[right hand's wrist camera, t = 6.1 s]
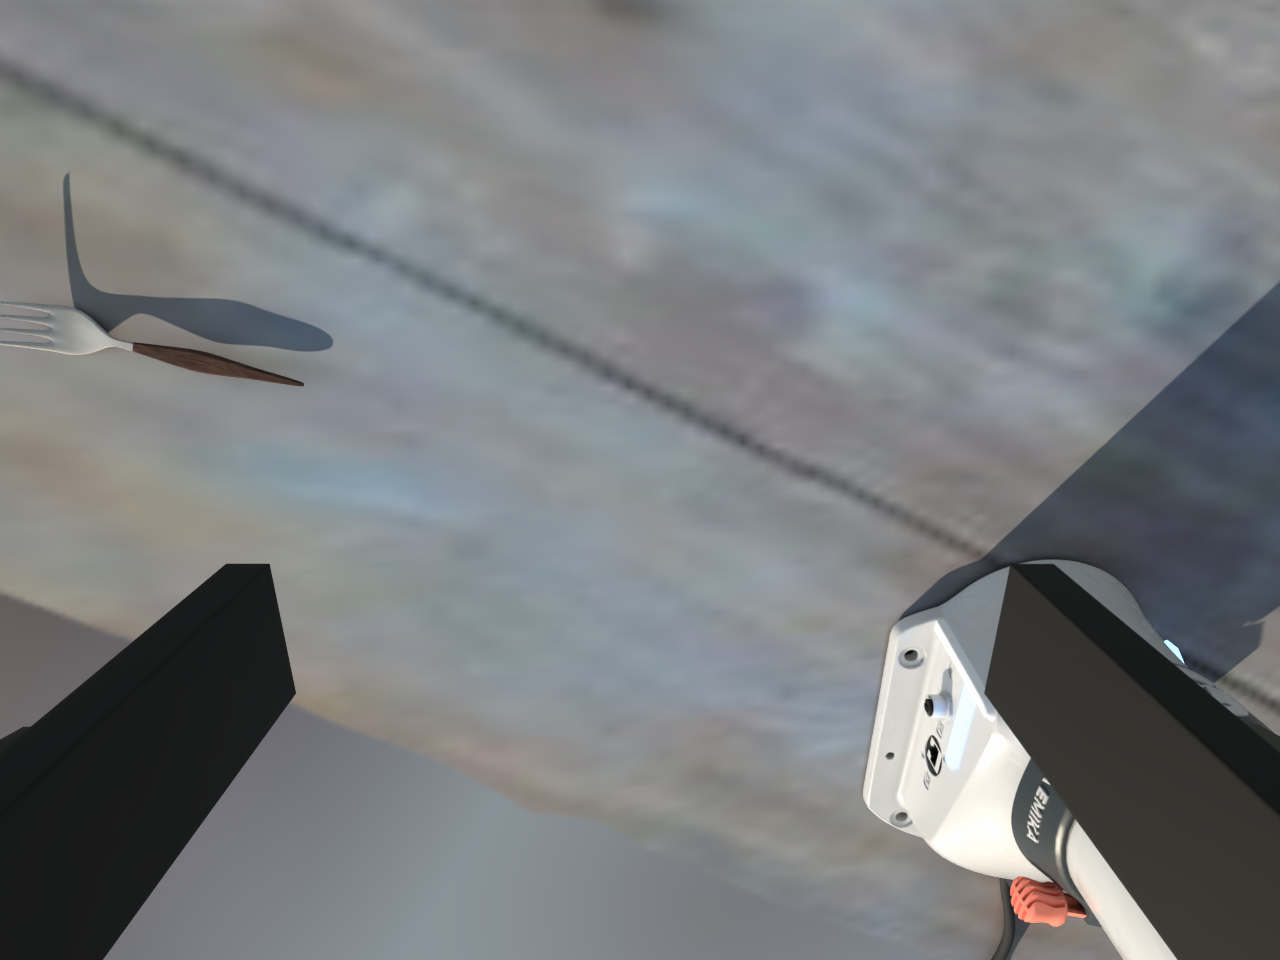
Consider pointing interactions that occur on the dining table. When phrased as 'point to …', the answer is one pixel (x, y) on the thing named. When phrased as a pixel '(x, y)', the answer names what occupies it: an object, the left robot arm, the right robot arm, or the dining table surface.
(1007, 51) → the dining table surface
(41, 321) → the fork
